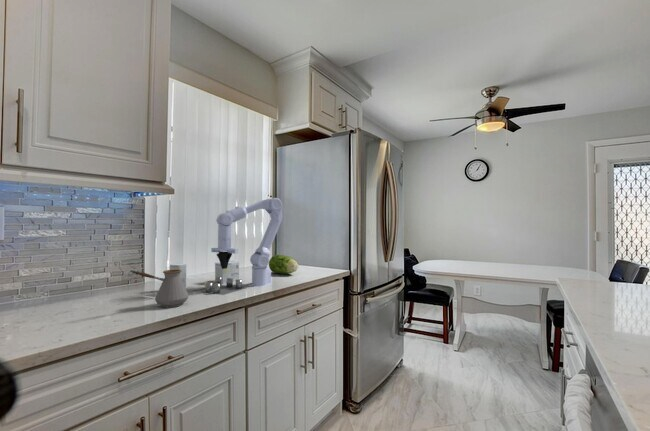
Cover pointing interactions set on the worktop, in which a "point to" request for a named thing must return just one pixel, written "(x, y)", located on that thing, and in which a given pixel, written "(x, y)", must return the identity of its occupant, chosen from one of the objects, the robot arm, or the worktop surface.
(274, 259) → the lettuce
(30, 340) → the worktop surface
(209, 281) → the nut
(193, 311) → the worktop surface
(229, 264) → the light bulb box
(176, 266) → the skincare box
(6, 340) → the worktop surface
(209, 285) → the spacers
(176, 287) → the coffee pot
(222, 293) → the mat
